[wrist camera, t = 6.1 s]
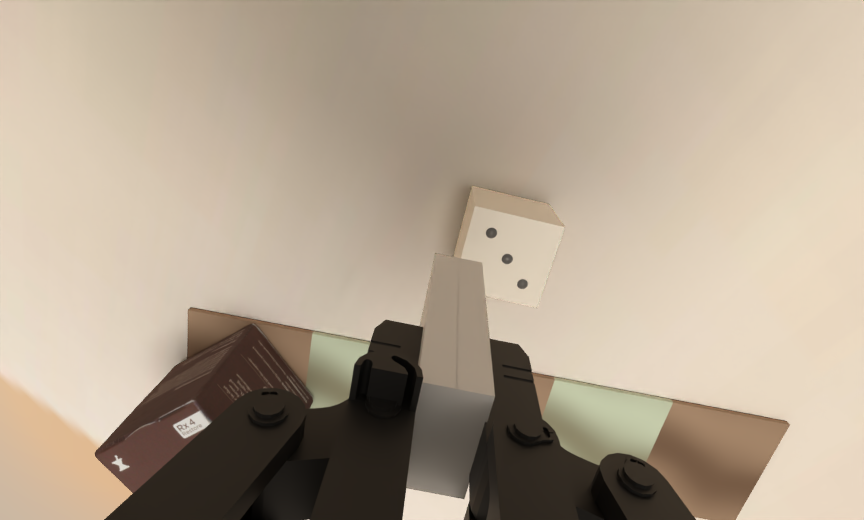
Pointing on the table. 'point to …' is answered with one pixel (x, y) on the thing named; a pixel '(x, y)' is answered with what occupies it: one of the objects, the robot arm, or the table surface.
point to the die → (510, 244)
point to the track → (565, 416)
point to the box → (194, 403)
